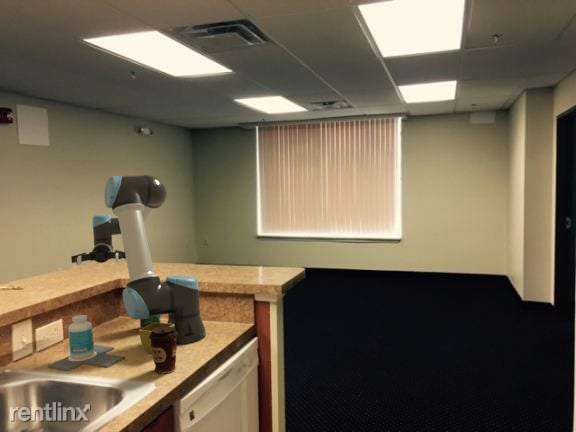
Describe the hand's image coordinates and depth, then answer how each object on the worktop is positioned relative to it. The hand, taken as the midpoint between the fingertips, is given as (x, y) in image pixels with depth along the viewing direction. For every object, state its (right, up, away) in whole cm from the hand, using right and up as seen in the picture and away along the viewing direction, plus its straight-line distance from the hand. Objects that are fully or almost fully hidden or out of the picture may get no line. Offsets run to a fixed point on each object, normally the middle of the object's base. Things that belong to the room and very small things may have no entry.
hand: (97, 260), depth 177 cm
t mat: (+7, -31, -21) cm, 38 cm away
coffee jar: (+17, -29, +10) cm, 35 cm away
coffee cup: (+34, -31, -32) cm, 57 cm away
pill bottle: (+3, -31, -19) cm, 36 cm away
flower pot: (+28, -30, -17) cm, 44 cm away
